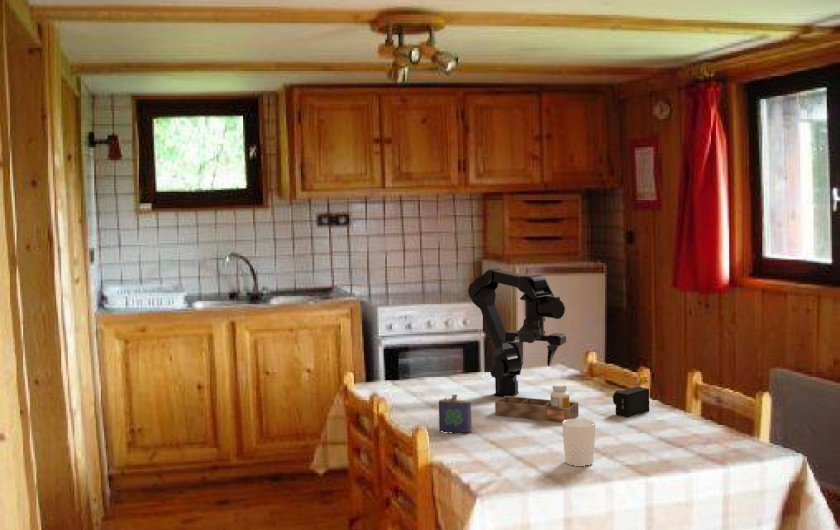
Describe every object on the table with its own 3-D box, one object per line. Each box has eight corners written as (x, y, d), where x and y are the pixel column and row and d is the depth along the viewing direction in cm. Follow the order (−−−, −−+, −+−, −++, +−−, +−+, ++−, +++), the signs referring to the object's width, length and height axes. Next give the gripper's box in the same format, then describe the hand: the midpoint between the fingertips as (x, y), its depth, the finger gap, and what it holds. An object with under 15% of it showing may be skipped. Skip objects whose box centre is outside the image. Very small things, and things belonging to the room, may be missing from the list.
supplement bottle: (569, 415, 262) (568, 382, 261) (570, 420, 257) (569, 386, 256) (550, 415, 263) (549, 383, 262) (551, 420, 257) (550, 386, 257)
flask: (472, 431, 248) (471, 393, 247) (470, 434, 245) (469, 396, 244) (440, 430, 251) (439, 392, 250) (437, 433, 248) (436, 395, 247)
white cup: (559, 458, 221) (558, 419, 221) (590, 457, 222) (590, 417, 221) (567, 468, 214) (566, 427, 213) (599, 466, 214) (599, 426, 213)
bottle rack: (494, 415, 265) (494, 402, 264) (505, 408, 272) (505, 395, 272) (569, 422, 254) (568, 409, 254) (578, 415, 261) (578, 402, 261)
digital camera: (634, 408, 268) (634, 385, 268) (649, 411, 264) (649, 388, 264) (612, 414, 262) (612, 391, 261) (627, 417, 258) (626, 394, 257)
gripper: (496, 317, 275) (496, 367, 276) (553, 321, 266) (554, 372, 267) (510, 312, 284) (511, 360, 286) (566, 315, 275) (566, 365, 277)
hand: (534, 364), depth 279 cm, fingers open, 9 cm apart
